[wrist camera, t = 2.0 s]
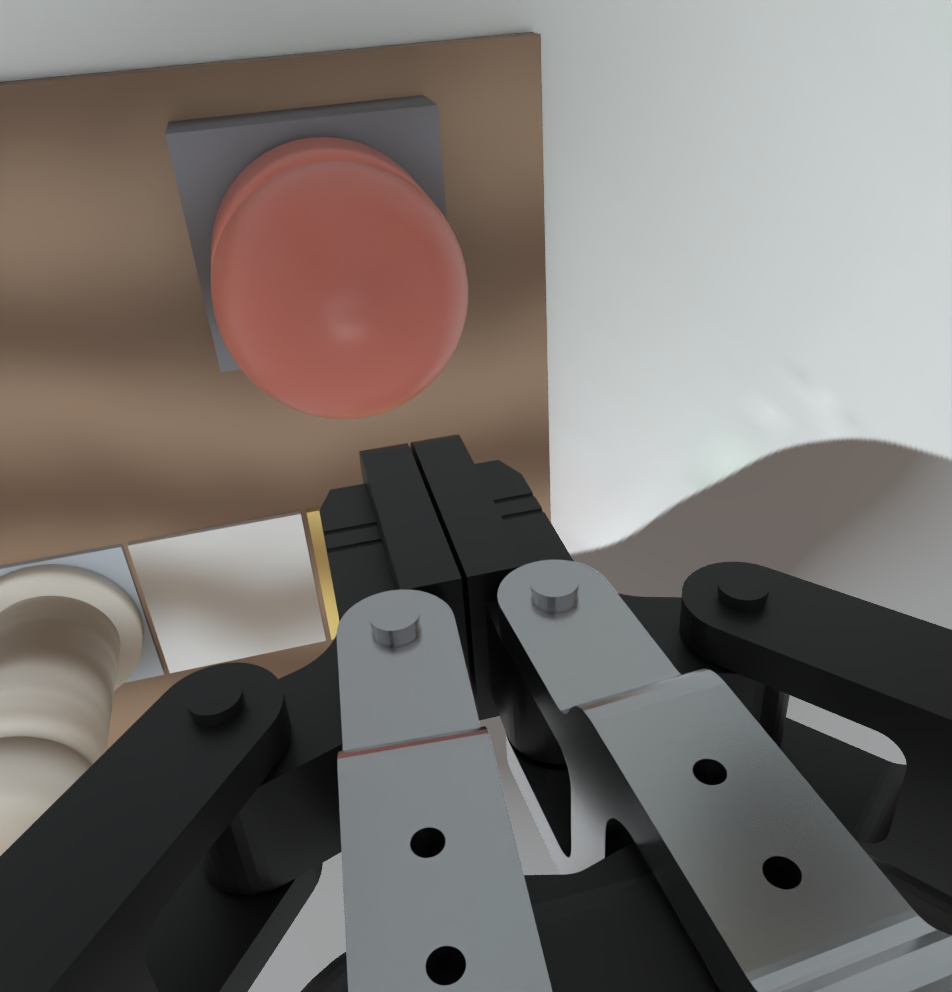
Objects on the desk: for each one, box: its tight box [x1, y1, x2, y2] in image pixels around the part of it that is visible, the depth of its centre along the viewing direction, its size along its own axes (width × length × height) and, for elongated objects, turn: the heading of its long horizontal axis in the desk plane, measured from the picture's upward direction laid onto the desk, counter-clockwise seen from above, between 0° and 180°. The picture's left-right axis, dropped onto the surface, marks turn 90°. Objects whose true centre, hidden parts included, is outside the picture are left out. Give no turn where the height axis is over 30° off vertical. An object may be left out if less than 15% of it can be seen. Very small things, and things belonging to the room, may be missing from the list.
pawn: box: [0, 564, 143, 856], centre depth 27 cm, size 6×6×10 cm
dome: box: [211, 137, 468, 419], centre depth 21 cm, size 6×6×6 cm
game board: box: [0, 32, 551, 751], centre depth 30 cm, size 26×22×3 cm
